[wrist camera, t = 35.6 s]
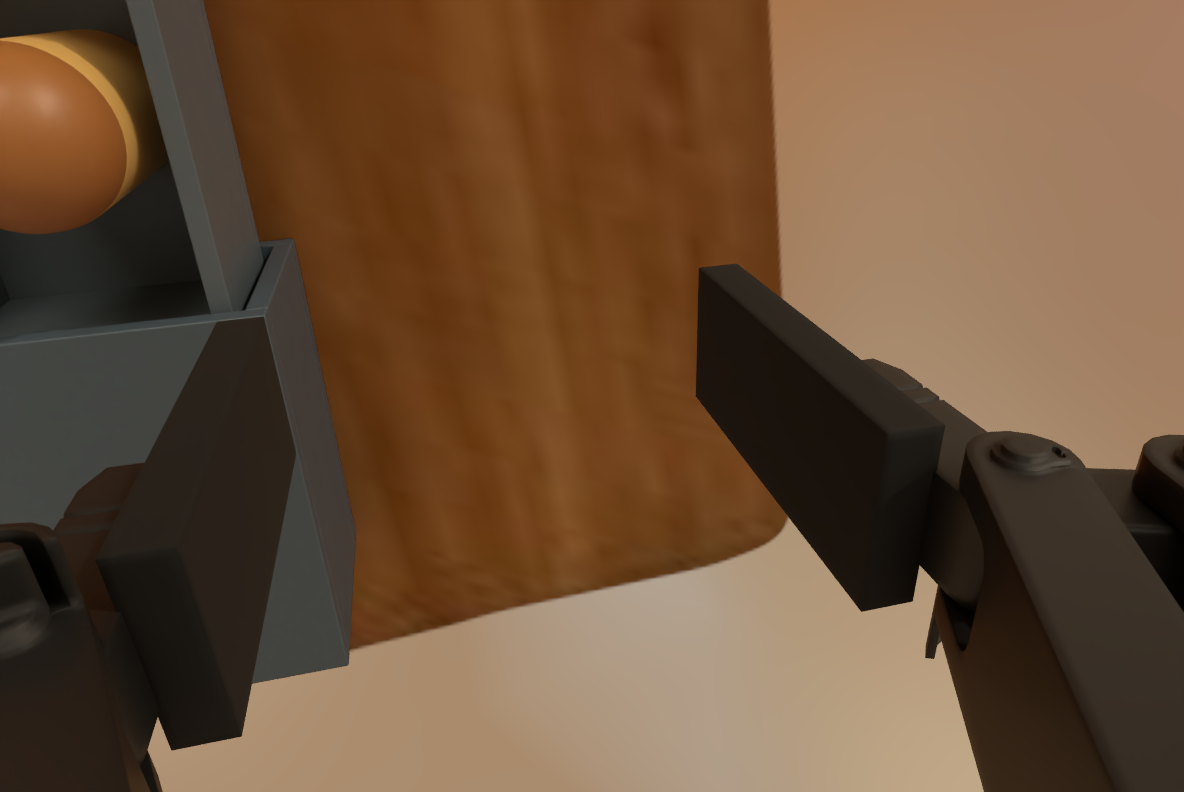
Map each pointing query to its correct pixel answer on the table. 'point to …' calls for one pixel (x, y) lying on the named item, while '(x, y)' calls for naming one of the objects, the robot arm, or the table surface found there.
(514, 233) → the table surface
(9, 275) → the drawer
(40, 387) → the cabinet
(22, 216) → the dome-topped cylinder
